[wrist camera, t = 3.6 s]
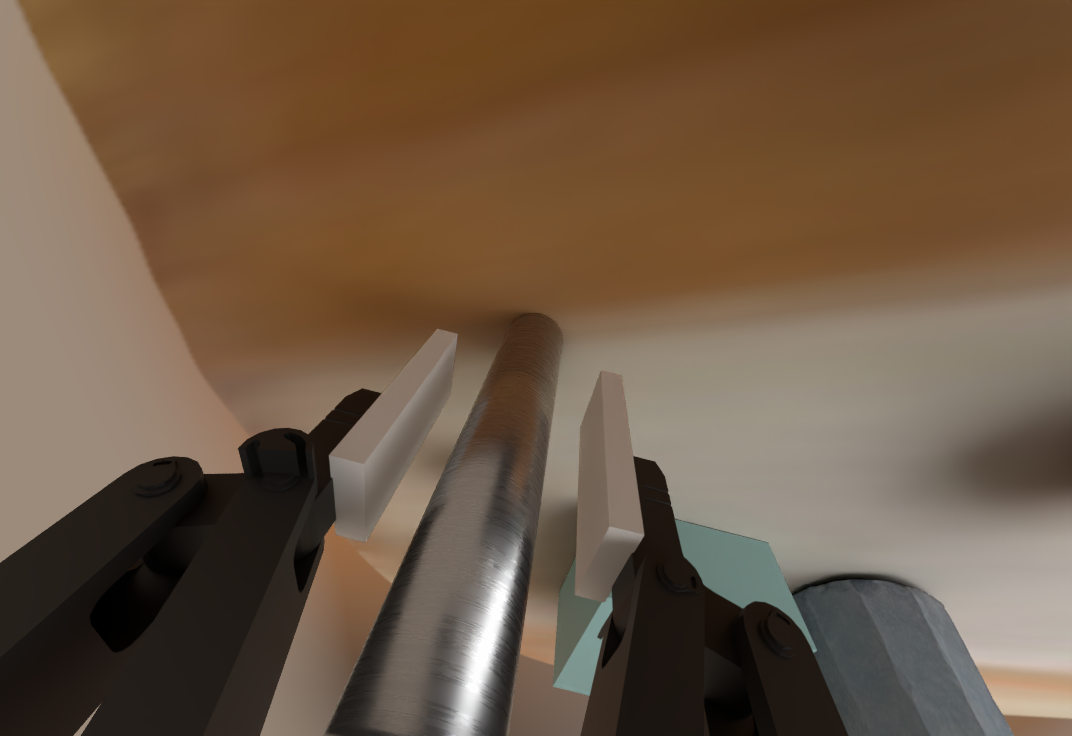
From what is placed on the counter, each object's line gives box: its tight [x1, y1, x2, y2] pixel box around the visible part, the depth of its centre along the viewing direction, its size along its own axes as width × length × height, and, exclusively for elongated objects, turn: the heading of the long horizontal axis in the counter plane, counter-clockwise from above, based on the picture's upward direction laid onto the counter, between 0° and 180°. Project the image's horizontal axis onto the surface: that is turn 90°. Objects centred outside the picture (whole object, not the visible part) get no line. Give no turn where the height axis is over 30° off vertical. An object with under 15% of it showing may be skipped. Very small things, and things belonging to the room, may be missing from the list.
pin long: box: [323, 313, 563, 736], centre depth 11 cm, size 3×3×14 cm
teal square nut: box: [553, 519, 817, 696], centre depth 22 cm, size 10×10×6 cm
